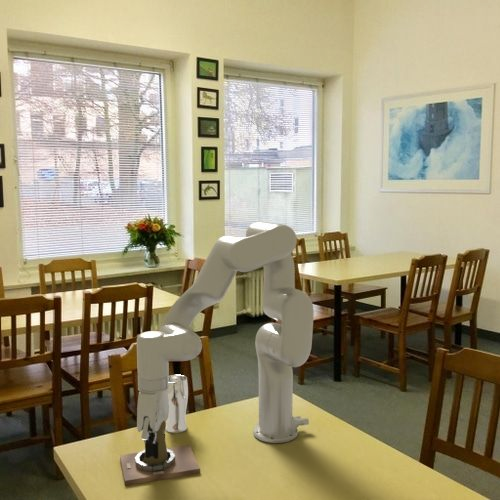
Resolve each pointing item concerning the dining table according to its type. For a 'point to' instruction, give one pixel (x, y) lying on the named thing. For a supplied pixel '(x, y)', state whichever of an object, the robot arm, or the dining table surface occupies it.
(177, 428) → the beer glass
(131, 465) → the board
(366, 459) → the dining table surface
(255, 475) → the dining table surface
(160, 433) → the cork
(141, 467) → the hub ring
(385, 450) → the dining table surface
